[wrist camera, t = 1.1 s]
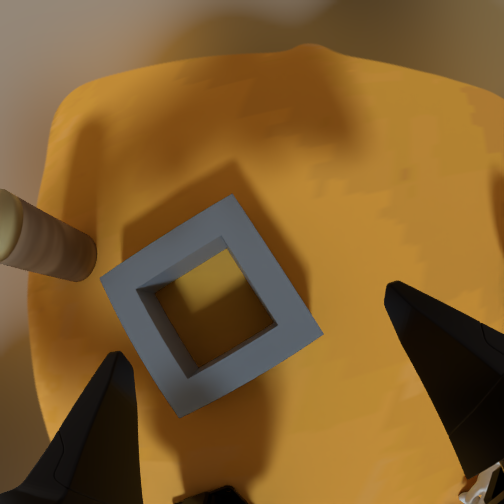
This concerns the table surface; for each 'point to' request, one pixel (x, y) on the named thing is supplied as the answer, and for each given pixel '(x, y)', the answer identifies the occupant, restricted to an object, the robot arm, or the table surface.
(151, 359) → the socket block
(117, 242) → the table surface
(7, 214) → the walnut pin
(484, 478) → the light grey piece
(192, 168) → the table surface
